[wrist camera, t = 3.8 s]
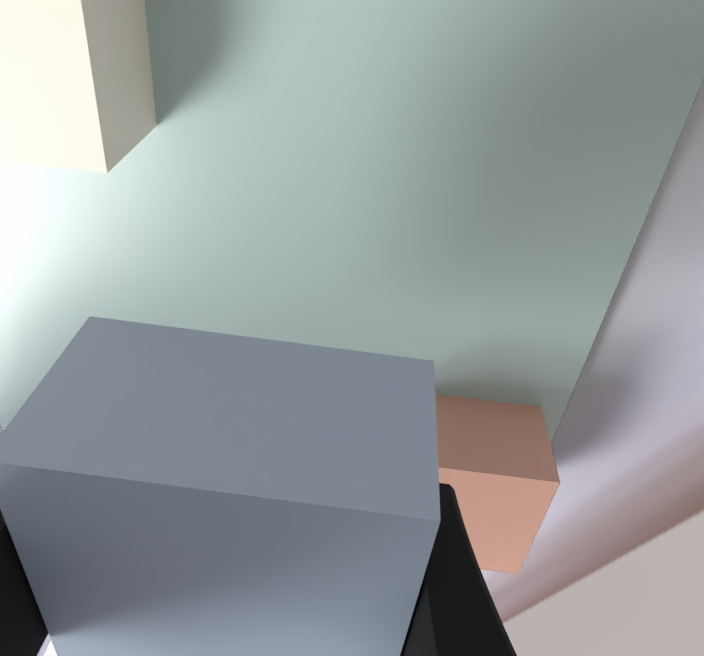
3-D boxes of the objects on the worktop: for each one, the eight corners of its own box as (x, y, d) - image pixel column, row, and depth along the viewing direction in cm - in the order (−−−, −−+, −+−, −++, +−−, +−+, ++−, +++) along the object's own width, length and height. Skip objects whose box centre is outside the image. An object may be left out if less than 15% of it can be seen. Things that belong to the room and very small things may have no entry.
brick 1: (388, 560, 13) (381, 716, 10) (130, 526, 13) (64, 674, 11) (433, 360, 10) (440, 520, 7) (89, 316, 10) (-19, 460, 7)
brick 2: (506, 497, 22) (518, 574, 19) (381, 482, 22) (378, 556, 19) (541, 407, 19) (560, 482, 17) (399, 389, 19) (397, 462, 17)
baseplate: (512, 516, 23) (514, 529, 23) (23, 454, 24) (15, 466, 23) (838, -285, 10) (858, -293, 10) (-267, -411, 10) (-300, -425, 10)
